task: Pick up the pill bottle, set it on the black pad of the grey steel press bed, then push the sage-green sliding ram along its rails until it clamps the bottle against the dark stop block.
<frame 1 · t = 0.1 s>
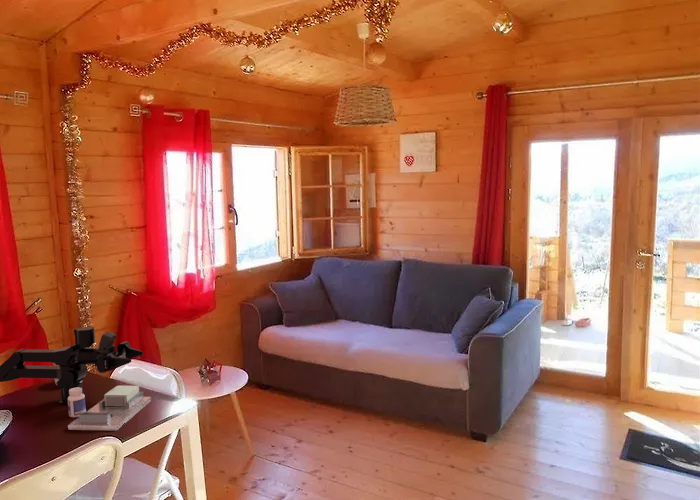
hand: (137, 356, 199), 17 cm above the table, tool horizontal, fingers open, 9 cm apart
ramekin: (69, 384, 222), on the table
pill bottle: (77, 415, 191), on the table
press bed: (112, 414, 190), on the table
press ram: (121, 396, 197), point 4 cm above the table, slide at 0.0 cm
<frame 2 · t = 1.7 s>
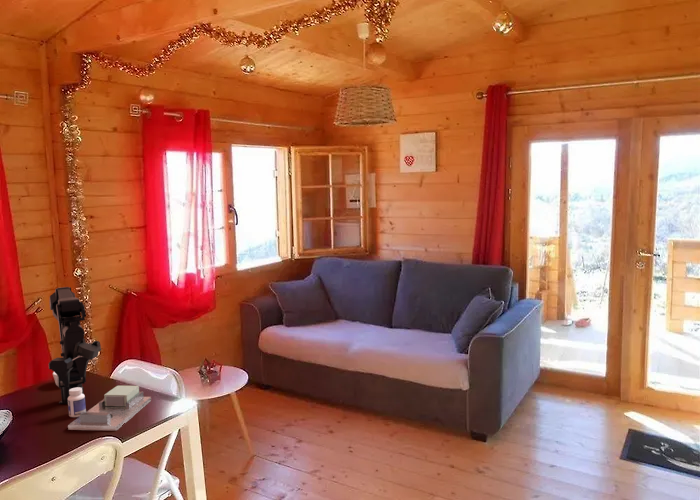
hand: (75, 381, 190), 11 cm above the table, tool pointing down, fingers open, 9 cm apart
nothing on the table moved.
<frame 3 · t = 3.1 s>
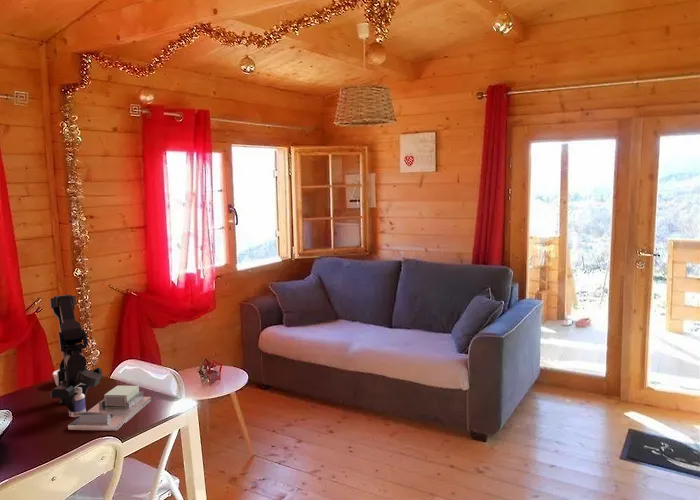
hand: (77, 408, 191), 2 cm above the table, tool pointing down, fingers closed on pill bottle, 5 cm apart
pill bottle: (77, 415, 191), on the table, touching gripper
everything else where it was.
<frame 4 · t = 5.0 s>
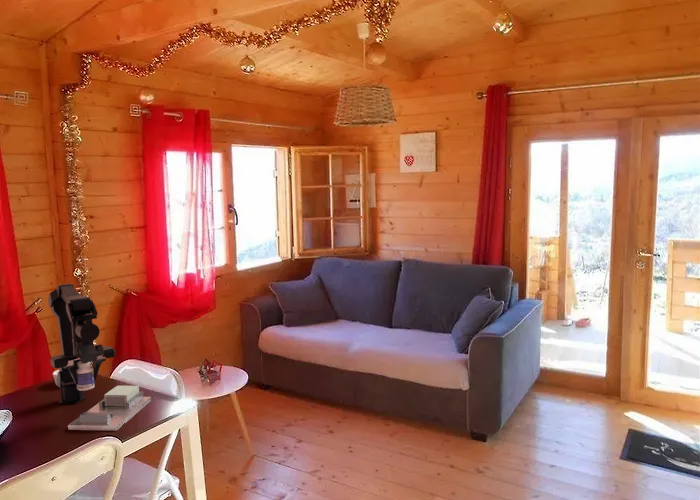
hand: (85, 382, 186), 12 cm above the table, tool pointing down, fingers closed on pill bottle, 5 cm apart
pill bottle: (86, 388, 186), point 10 cm above the table, touching gripper
everything else where it was.
when the fingers open (5 cm above the table, at t = 7.2 s): pill bottle drops 1 cm, resting on press bed.
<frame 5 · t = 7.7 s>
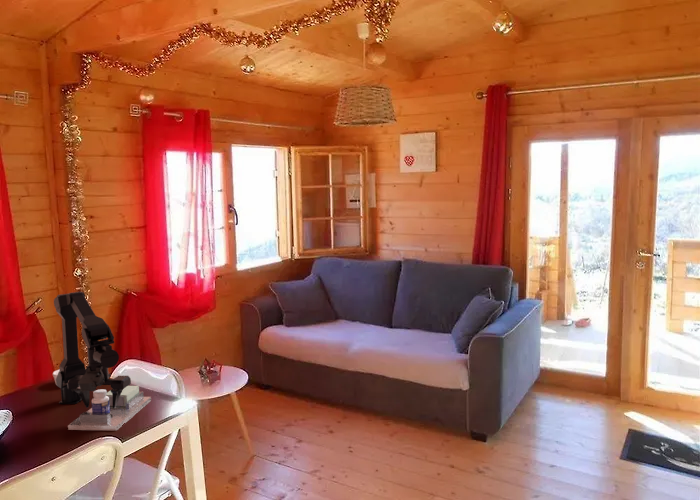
hand: (101, 407, 183), 5 cm above the table, tool pointing down, fingers open, 9 cm apart
pill bottle: (101, 418, 184), point 1 cm above the table, touching press bed
everything else where it was.
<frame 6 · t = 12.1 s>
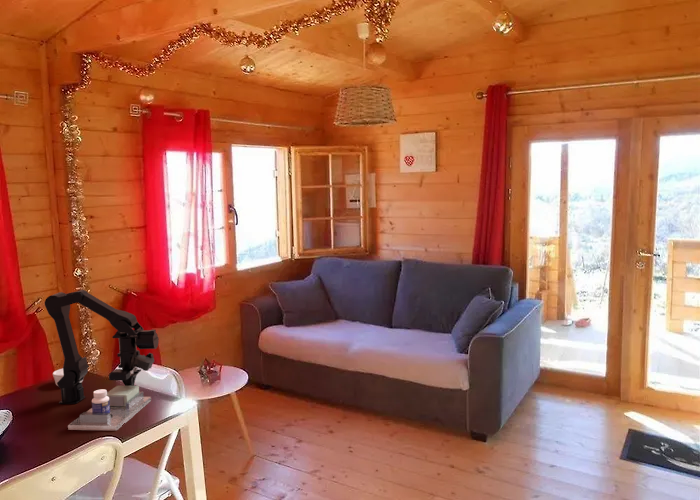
hand: (130, 391, 204), 3 cm above the table, tool pointing down, fingers closed
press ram: (121, 396, 197), point 4 cm above the table, slide at 0.0 cm, touching gripper
everything else where it was.
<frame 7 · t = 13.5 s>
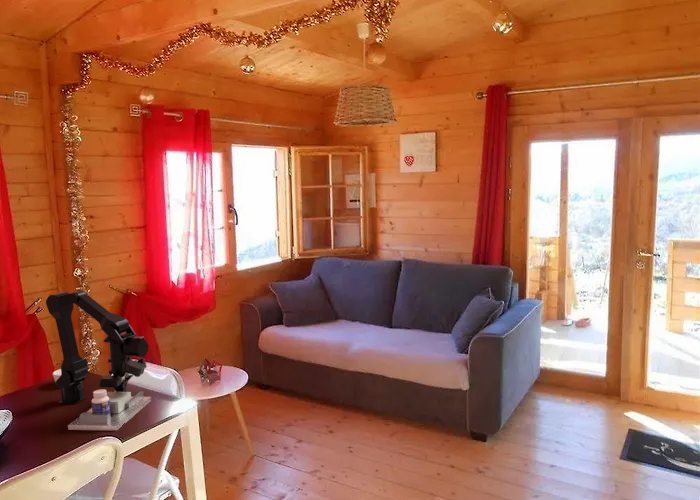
hand: (122, 397, 197), 3 cm above the table, tool pointing down, fingers closed
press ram: (113, 402, 191), point 4 cm above the table, slide at 6.1 cm, touching gripper
everything else where it was.
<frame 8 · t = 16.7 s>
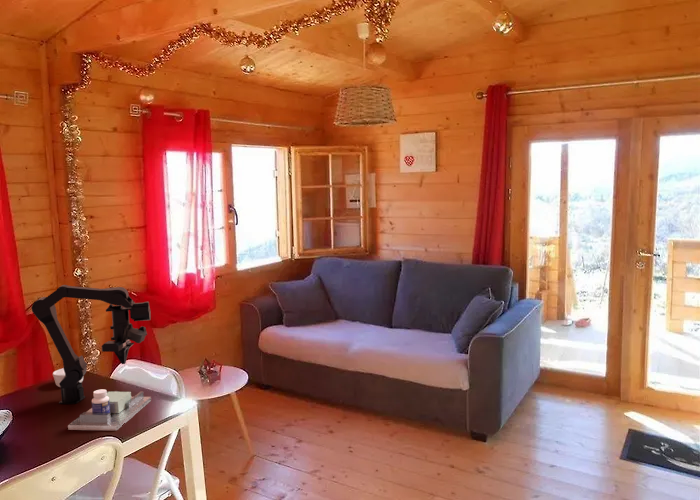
hand: (123, 363, 207), 12 cm above the table, tool pointing down, fingers closed
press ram: (113, 402, 191), point 4 cm above the table, slide at 6.0 cm
everything else where it was.
at the end: pill bottle 0.3 cm from the target spot, point 1.4 cm above the table; pill bottle tilted 0°; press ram slide at 6.0 cm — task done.
